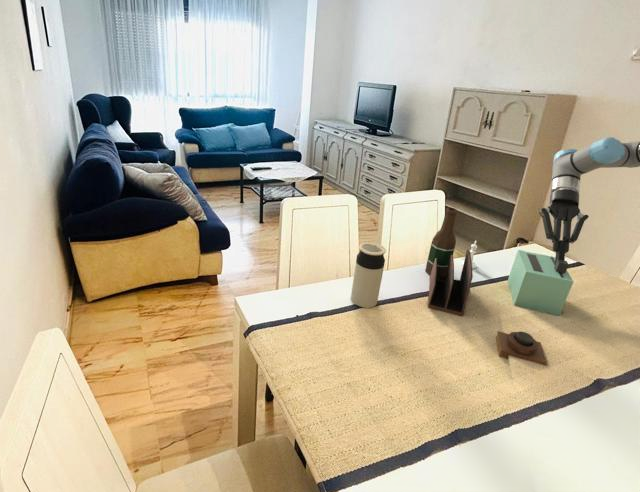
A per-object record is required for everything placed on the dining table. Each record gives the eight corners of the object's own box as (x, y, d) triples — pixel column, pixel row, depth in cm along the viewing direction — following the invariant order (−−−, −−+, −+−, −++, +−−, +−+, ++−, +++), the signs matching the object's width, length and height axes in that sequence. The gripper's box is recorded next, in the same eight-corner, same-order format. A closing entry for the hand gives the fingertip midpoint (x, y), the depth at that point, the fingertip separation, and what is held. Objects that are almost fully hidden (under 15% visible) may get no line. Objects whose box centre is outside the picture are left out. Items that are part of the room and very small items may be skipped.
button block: (538, 348, 100) (542, 336, 99) (544, 369, 94) (549, 356, 92) (495, 337, 104) (499, 325, 102) (498, 356, 97) (503, 344, 95)
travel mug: (366, 312, 111) (375, 257, 104) (345, 299, 117) (352, 246, 110) (382, 302, 116) (392, 249, 109) (361, 290, 122) (369, 239, 114)
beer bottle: (426, 277, 132) (442, 212, 122) (423, 266, 139) (437, 203, 129) (450, 280, 131) (467, 214, 121) (445, 268, 138) (461, 206, 128)
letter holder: (460, 284, 129) (471, 246, 123) (463, 316, 112) (475, 275, 106) (429, 276, 132) (438, 239, 126) (427, 307, 115) (437, 266, 109)
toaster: (548, 289, 128) (560, 257, 123) (559, 316, 115) (574, 281, 110) (507, 280, 132) (518, 249, 127) (514, 305, 119) (526, 271, 114)
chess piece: (459, 264, 141) (466, 240, 137) (464, 260, 145) (471, 236, 141) (473, 269, 138) (480, 245, 134) (478, 265, 142) (485, 241, 138)
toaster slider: (563, 269, 115) (566, 261, 114) (565, 273, 113) (568, 264, 112) (553, 267, 116) (557, 259, 115) (555, 271, 114) (559, 262, 113)
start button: (529, 339, 98) (531, 333, 97) (532, 348, 95) (534, 342, 94) (513, 335, 99) (516, 329, 99) (516, 343, 96) (518, 338, 96)
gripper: (583, 202, 125) (579, 270, 117) (537, 195, 129) (530, 260, 122) (594, 191, 118) (591, 262, 111) (545, 184, 123) (539, 252, 115)
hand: (559, 261), depth 116 cm, fingers closed
